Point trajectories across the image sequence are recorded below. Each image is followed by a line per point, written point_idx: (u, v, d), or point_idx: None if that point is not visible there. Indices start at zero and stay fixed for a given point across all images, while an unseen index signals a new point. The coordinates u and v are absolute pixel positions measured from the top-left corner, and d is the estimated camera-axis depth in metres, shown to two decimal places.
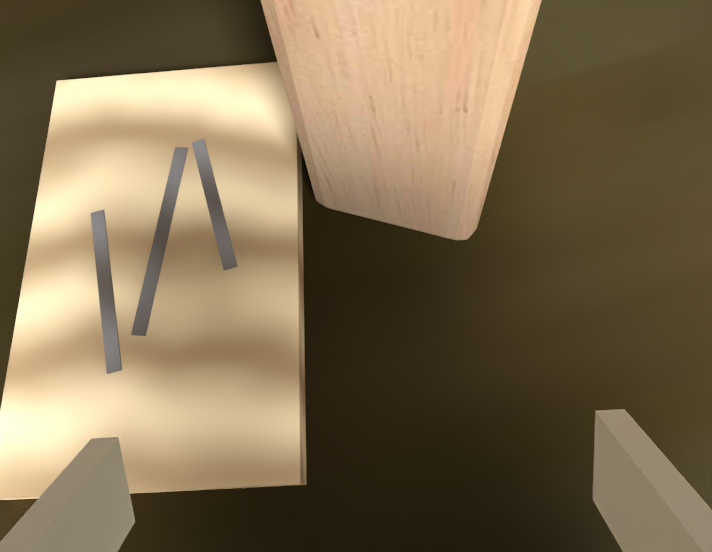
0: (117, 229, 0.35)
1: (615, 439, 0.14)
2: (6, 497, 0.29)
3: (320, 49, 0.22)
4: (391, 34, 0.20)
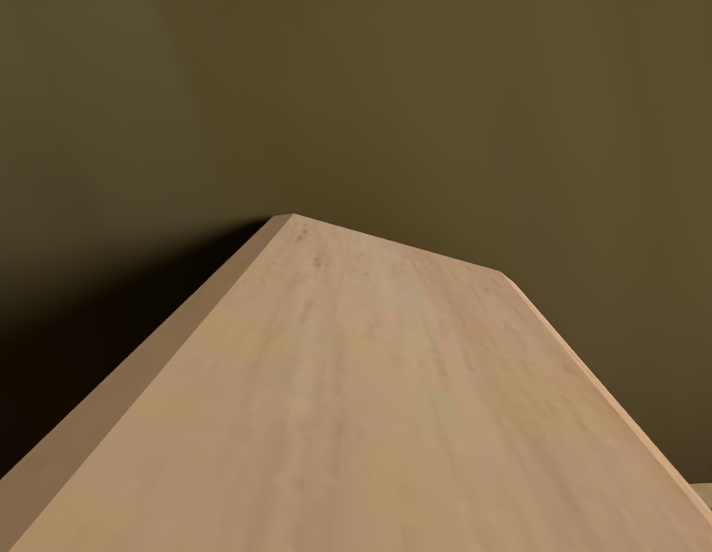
0: None
1: None
2: None
3: None
4: None
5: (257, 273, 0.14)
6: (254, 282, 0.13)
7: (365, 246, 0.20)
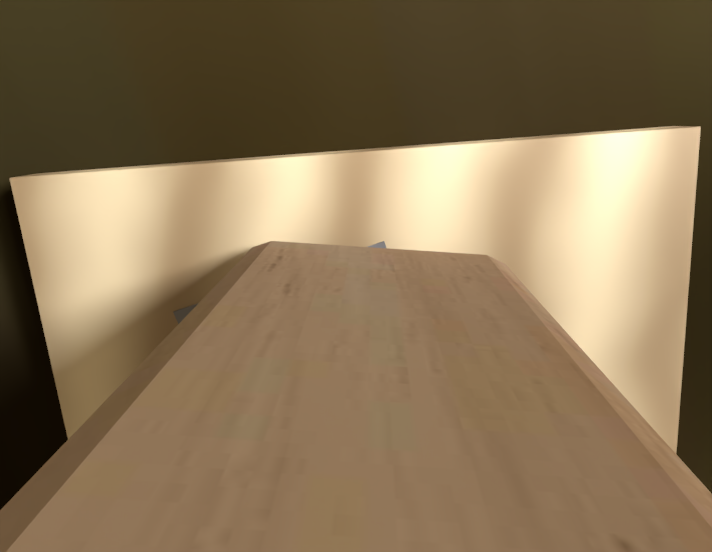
0: None
1: None
2: None
3: None
4: None
5: (220, 314, 0.14)
6: (215, 324, 0.13)
7: (342, 259, 0.20)
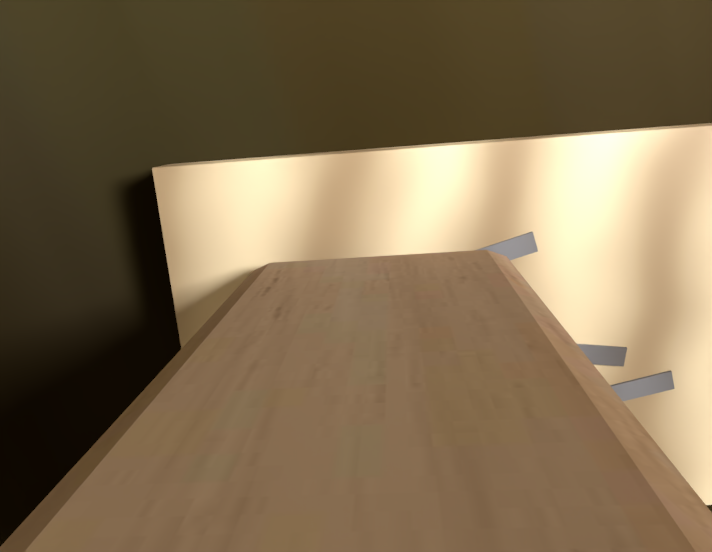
0: None
1: None
2: None
3: None
4: None
5: (207, 348, 0.14)
6: (201, 360, 0.13)
7: (338, 273, 0.19)
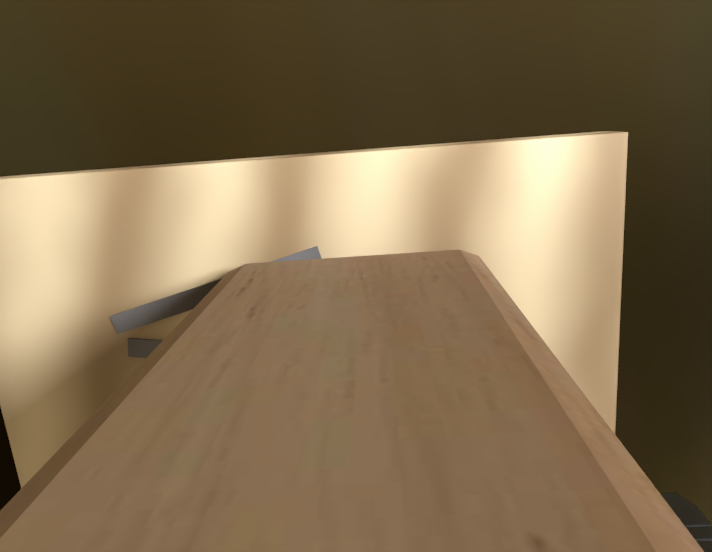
0: None
1: None
2: None
3: None
4: None
5: (180, 348, 0.14)
6: (174, 360, 0.13)
7: (312, 274, 0.20)
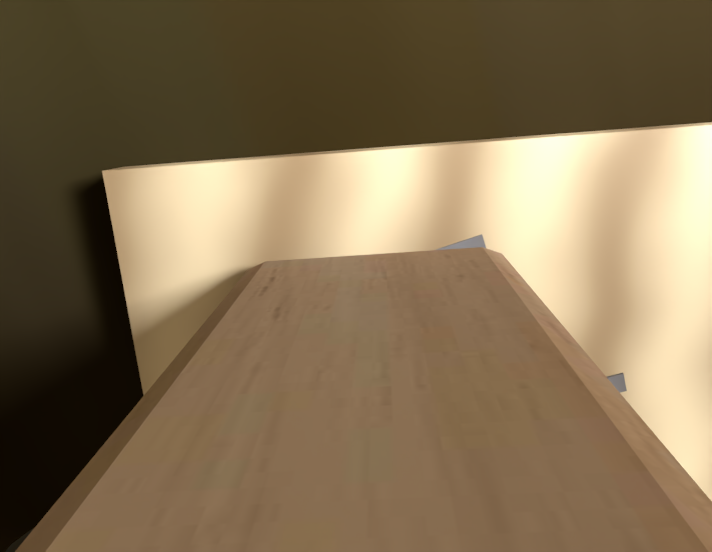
0: None
1: None
2: None
3: None
4: None
5: (208, 350, 0.14)
6: (202, 363, 0.13)
7: (335, 272, 0.19)
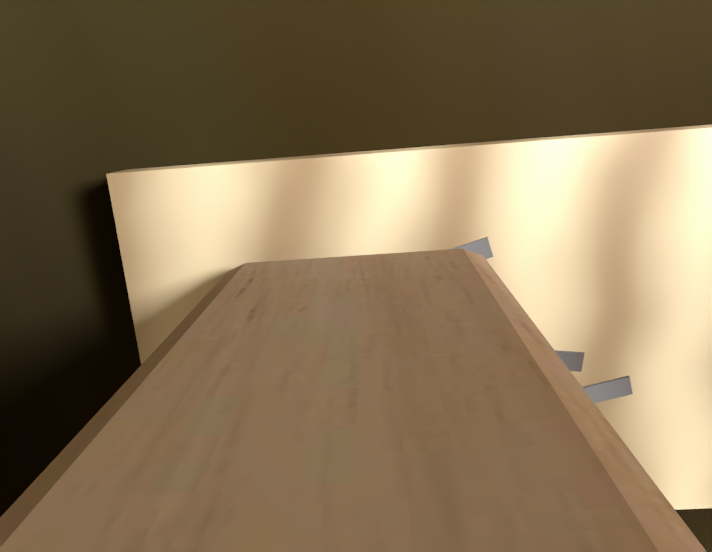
0: None
1: None
2: None
3: None
4: None
5: (179, 352, 0.14)
6: (172, 365, 0.13)
7: (313, 274, 0.19)
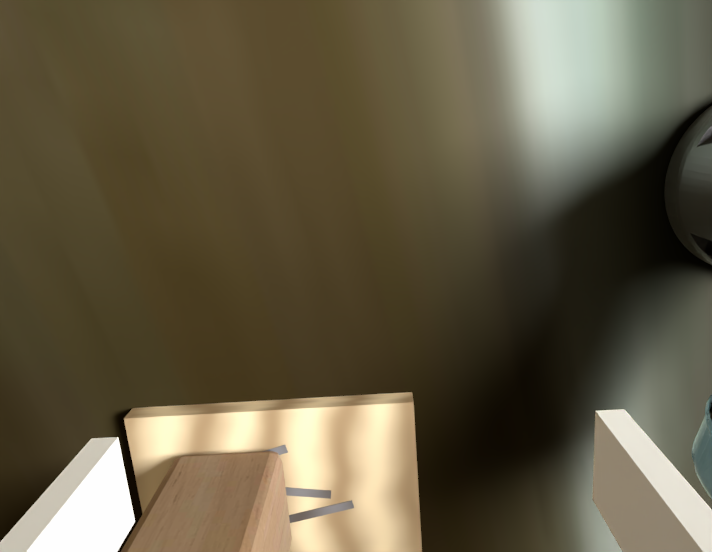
0: None
1: (615, 439, 0.14)
2: (421, 545, 0.55)
3: None
4: None
5: (149, 519, 0.44)
6: (146, 526, 0.43)
7: (204, 470, 0.50)
